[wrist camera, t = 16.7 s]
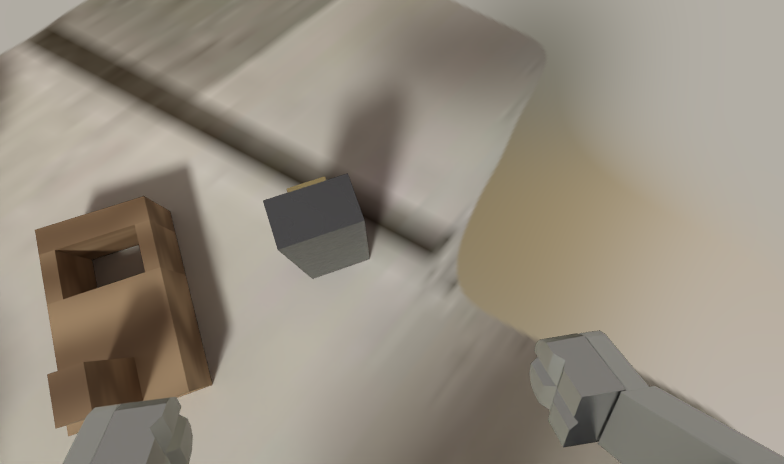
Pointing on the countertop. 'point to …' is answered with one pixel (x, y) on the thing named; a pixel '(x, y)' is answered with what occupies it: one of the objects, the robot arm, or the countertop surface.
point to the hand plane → (118, 313)
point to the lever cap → (319, 225)
